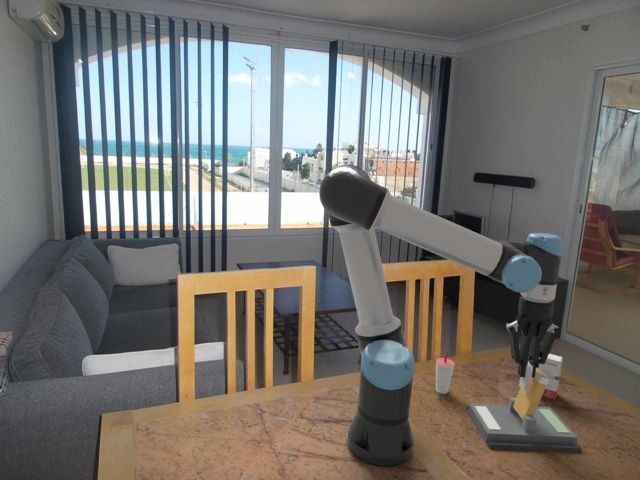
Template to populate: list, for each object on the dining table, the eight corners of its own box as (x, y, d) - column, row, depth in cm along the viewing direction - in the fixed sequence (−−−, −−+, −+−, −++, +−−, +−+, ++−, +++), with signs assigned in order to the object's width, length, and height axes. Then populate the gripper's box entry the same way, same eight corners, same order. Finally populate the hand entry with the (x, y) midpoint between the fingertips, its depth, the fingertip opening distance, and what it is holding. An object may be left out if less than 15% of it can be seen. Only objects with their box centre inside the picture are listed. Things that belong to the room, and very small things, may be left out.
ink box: (557, 393, 135) (564, 356, 133) (555, 400, 131) (562, 362, 129) (525, 384, 140) (531, 348, 138) (523, 390, 136) (529, 353, 133)
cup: (438, 384, 136) (443, 346, 134) (454, 391, 133) (460, 353, 130) (428, 389, 133) (433, 351, 130) (445, 397, 129) (450, 358, 127)
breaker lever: (522, 422, 113) (541, 377, 110) (511, 408, 119) (529, 364, 117) (530, 424, 113) (549, 379, 110) (518, 410, 119) (537, 367, 117)
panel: (485, 442, 110) (489, 421, 109) (467, 411, 122) (470, 392, 121) (575, 446, 110) (580, 425, 109) (548, 415, 123) (551, 396, 122)
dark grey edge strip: (489, 448, 108) (489, 444, 108) (487, 445, 109) (488, 441, 109) (580, 451, 108) (581, 448, 108) (578, 449, 109) (579, 445, 109)
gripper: (517, 302, 106) (504, 395, 110) (572, 304, 106) (557, 397, 111) (503, 292, 113) (492, 380, 118) (555, 294, 113) (542, 381, 118)
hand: (524, 388), depth 114 cm, fingers closed
